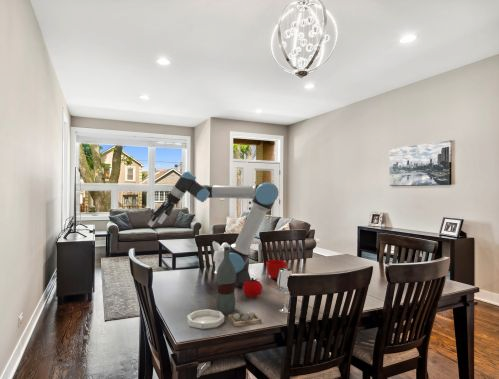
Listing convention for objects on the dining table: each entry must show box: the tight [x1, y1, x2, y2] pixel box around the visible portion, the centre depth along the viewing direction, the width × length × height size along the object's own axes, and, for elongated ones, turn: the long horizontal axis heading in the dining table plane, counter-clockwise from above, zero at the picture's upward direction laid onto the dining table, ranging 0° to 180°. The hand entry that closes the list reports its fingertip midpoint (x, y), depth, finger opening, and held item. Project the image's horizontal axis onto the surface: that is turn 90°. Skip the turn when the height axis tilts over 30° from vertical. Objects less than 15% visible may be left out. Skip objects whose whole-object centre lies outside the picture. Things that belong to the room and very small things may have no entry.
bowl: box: [186, 308, 225, 330], centre depth 145 cm, size 15×15×3 cm
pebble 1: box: [233, 312, 240, 321], centre depth 146 cm, size 3×3×3 cm
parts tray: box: [227, 311, 262, 327], centre depth 146 cm, size 12×9×2 cm
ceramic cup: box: [265, 259, 289, 280], centre depth 216 cm, size 13×17×10 cm
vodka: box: [215, 246, 236, 314], centre depth 159 cm, size 9×9×30 cm
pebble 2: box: [241, 315, 248, 321], centre depth 145 cm, size 3×3×3 cm
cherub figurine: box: [212, 240, 230, 275], centre depth 224 cm, size 12×12×22 cm
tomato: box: [242, 277, 263, 299], centre depth 179 cm, size 10×10×10 cm
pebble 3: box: [246, 311, 254, 319], centre depth 148 cm, size 3×3×3 cm
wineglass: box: [276, 267, 293, 313], centre depth 159 cm, size 8×8×20 cm
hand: (154, 224), depth 196 cm, fingers open, 13 cm apart
